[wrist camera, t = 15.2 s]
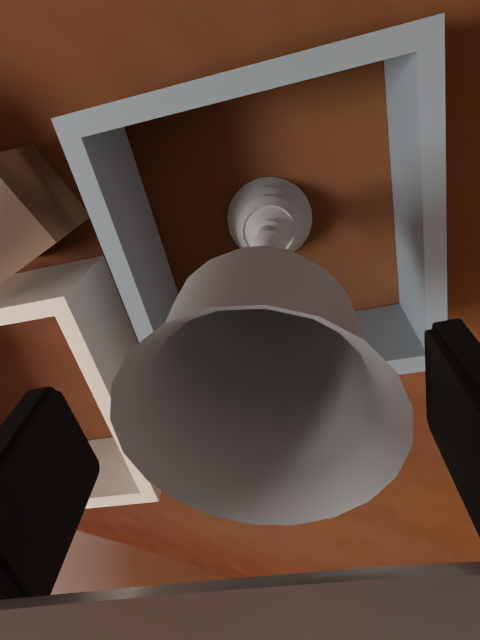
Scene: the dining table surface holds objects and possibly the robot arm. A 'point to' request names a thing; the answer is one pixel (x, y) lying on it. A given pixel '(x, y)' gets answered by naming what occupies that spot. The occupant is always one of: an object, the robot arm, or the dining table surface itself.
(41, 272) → the frame
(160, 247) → the frame
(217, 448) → the chalice
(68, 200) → the walnut block
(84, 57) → the dining table surface
